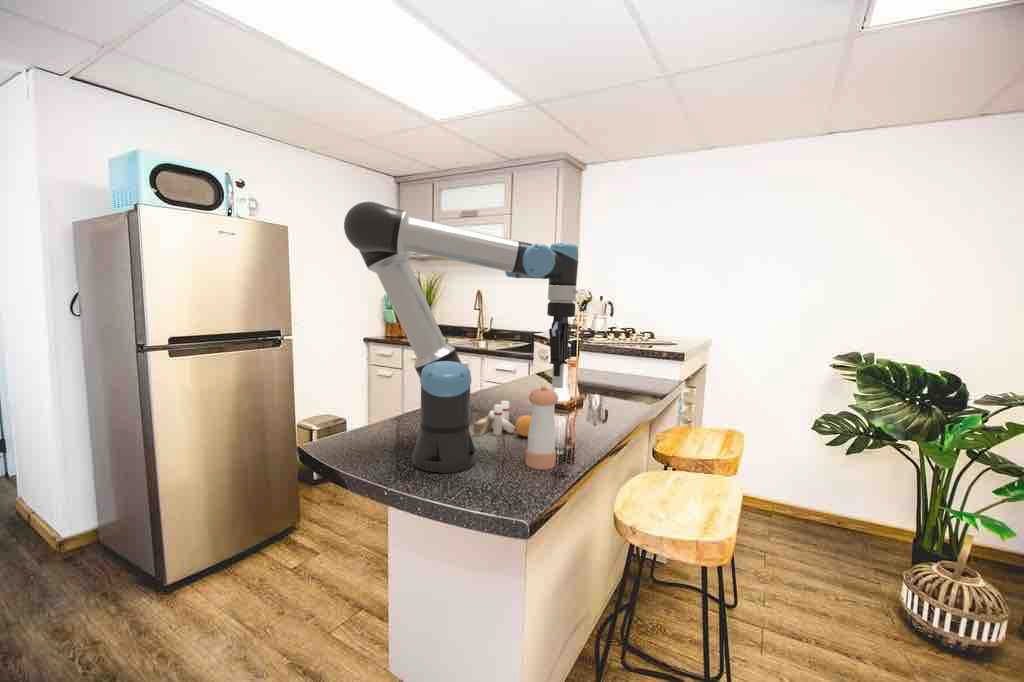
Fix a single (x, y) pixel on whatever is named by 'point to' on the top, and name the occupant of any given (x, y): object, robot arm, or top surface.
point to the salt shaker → (542, 430)
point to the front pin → (505, 423)
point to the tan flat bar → (483, 426)
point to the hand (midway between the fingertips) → (557, 387)
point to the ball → (523, 425)
